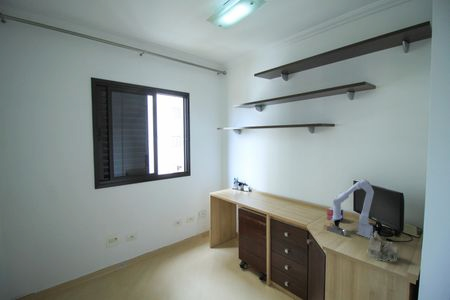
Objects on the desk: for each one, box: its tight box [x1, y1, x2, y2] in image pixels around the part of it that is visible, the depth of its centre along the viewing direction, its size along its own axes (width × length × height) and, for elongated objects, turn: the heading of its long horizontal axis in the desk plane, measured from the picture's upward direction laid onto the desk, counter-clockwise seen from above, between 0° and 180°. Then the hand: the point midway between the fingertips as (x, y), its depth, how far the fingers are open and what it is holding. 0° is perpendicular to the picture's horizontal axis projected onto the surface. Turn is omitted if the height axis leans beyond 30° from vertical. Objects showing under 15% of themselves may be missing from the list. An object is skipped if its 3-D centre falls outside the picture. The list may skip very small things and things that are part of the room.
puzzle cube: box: [326, 206, 344, 221], centre depth 204 cm, size 10×10×10 cm
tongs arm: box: [329, 222, 345, 231], centre depth 179 cm, size 15×2×4 cm, turn 14°
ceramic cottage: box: [365, 230, 399, 261], centre depth 139 cm, size 16×16×15 cm
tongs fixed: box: [323, 224, 348, 237], centre depth 176 cm, size 18×3×4 cm, turn 36°
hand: (336, 227), depth 182 cm, fingers closed
